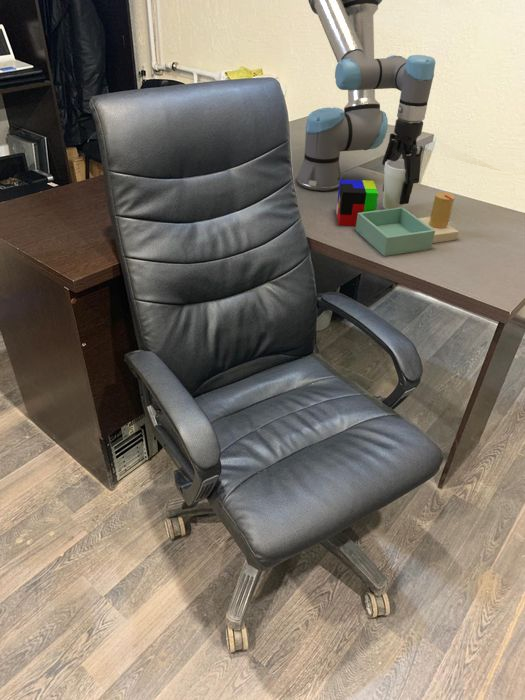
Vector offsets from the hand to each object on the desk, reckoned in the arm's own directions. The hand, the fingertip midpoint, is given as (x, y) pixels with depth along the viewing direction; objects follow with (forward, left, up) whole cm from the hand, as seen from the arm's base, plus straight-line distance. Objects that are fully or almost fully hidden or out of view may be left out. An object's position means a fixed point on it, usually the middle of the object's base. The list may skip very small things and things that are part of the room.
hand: (395, 197), depth 160 cm
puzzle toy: (+1, -14, -5) cm, 15 cm away
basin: (+17, -10, -5) cm, 20 cm away
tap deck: (+17, +3, -5) cm, 18 cm away
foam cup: (0, 0, -3) cm, 3 cm away
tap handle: (+17, +4, -2) cm, 18 cm away
